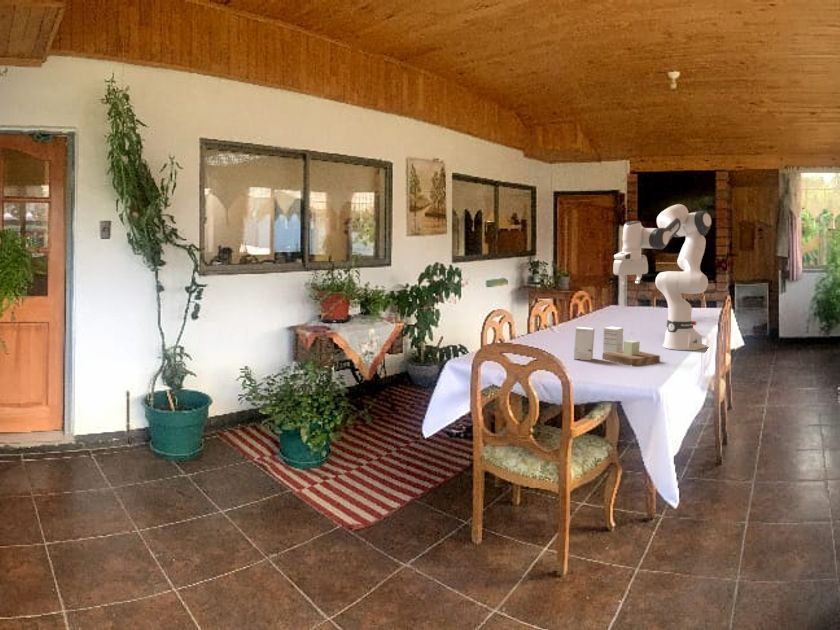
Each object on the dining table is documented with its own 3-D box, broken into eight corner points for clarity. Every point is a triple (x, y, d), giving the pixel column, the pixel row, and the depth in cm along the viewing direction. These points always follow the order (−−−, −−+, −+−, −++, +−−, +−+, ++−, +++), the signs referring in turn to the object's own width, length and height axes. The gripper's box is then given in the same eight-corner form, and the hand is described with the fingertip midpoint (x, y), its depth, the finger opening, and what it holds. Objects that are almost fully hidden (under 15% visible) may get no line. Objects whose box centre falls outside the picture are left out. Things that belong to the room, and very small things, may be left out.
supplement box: (608, 351, 352) (609, 326, 350) (623, 352, 347) (624, 327, 346) (602, 353, 346) (603, 327, 345) (616, 355, 342) (617, 329, 340)
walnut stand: (629, 355, 340) (629, 349, 340) (659, 361, 325) (659, 355, 324) (602, 359, 331) (602, 352, 331) (631, 365, 316) (632, 359, 315)
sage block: (630, 352, 331) (631, 340, 330) (639, 354, 327) (639, 341, 326) (623, 353, 328) (623, 341, 328) (631, 355, 324) (631, 342, 323)
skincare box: (573, 359, 331) (574, 328, 329) (575, 357, 336) (576, 326, 334) (591, 360, 328) (592, 329, 326) (593, 358, 333) (594, 327, 331)
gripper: (641, 254, 347) (640, 282, 349) (611, 255, 337) (610, 284, 338) (651, 255, 341) (650, 283, 343) (621, 256, 331) (620, 285, 333)
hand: (630, 284), depth 341 cm, fingers open, 8 cm apart
